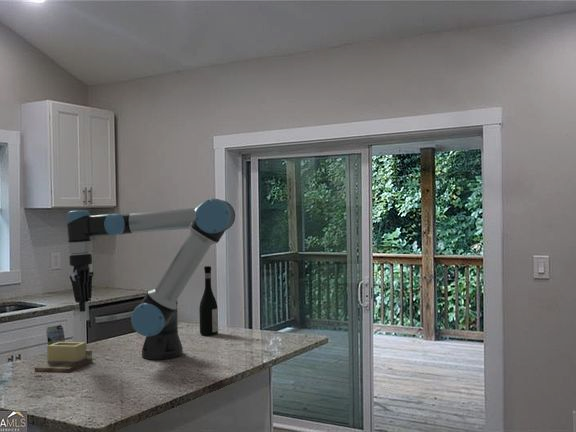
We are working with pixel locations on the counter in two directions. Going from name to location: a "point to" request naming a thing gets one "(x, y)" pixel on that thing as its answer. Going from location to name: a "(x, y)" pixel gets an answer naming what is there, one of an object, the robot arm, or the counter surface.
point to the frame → (66, 352)
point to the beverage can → (55, 334)
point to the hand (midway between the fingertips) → (84, 320)
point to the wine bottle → (208, 308)
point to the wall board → (64, 365)
